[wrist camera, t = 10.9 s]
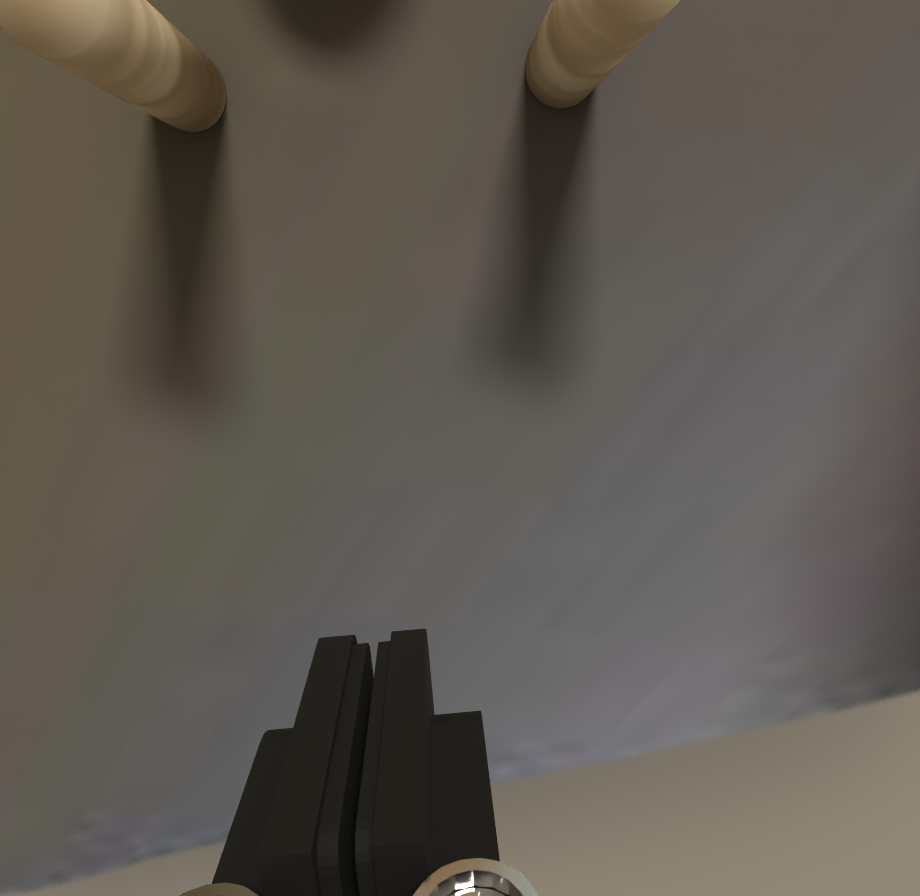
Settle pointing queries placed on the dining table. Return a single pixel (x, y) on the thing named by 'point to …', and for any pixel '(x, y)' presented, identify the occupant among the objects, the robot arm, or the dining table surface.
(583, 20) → the post
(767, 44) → the dining table surface
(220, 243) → the dining table surface
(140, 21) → the post
